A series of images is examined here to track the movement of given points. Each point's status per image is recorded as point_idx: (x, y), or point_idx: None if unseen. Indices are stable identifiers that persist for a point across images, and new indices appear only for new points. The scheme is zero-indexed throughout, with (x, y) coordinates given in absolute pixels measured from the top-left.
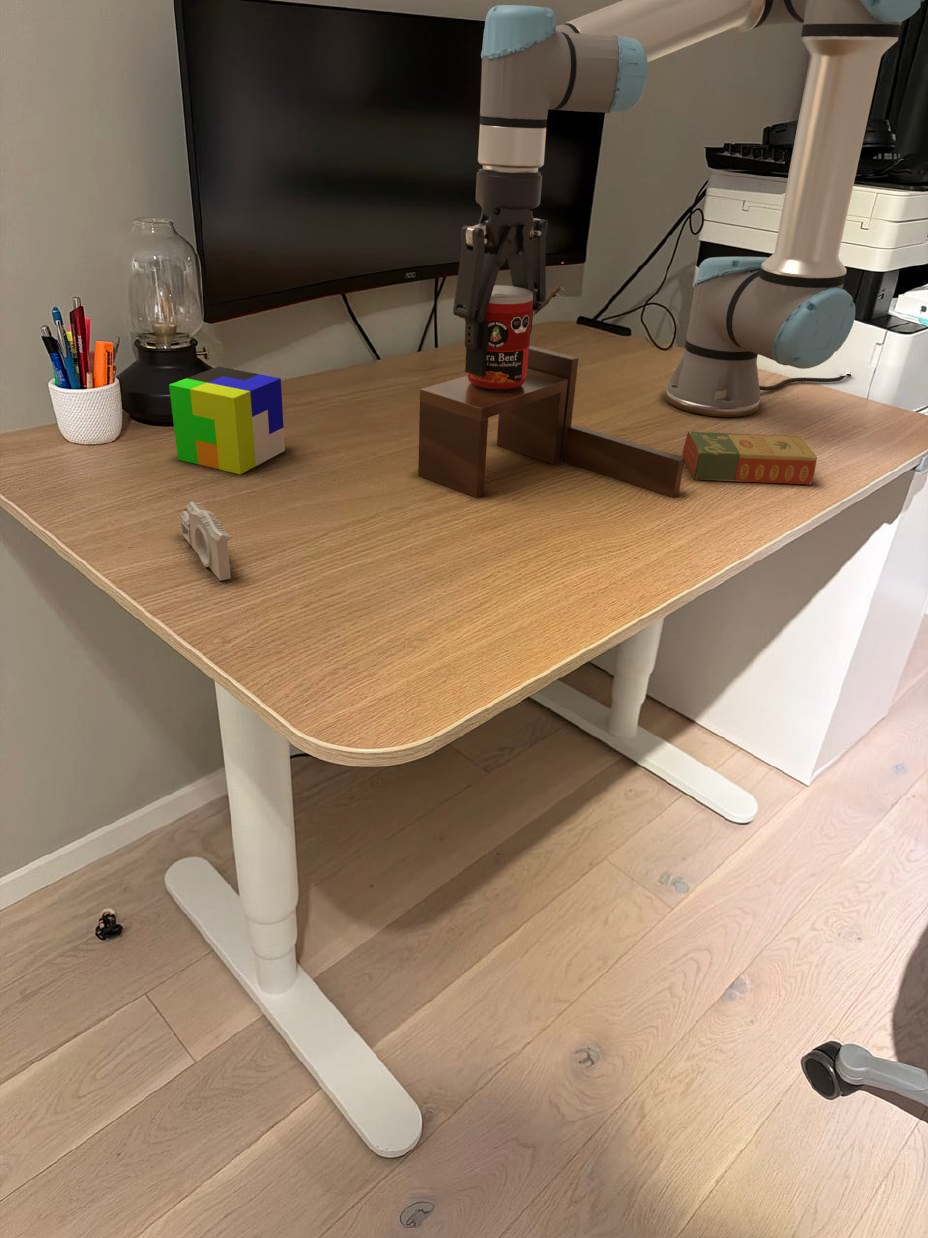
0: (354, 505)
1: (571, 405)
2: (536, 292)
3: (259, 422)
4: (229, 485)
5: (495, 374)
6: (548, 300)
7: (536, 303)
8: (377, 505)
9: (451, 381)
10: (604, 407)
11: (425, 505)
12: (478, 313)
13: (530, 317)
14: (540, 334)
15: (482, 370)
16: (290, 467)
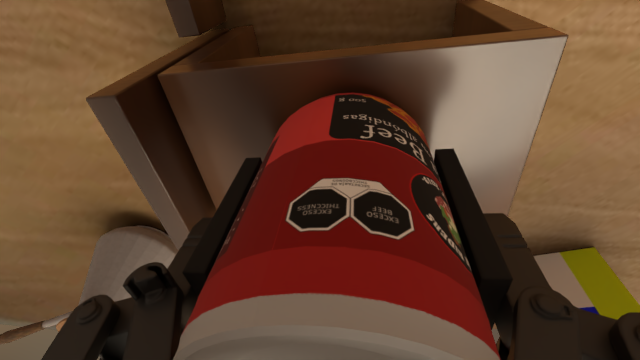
0: (626, 105)
1: (168, 56)
2: (102, 346)
3: (570, 297)
4: (634, 235)
5: (419, 133)
6: (2, 335)
7: (140, 297)
8: (607, 83)
9: None
10: (42, 142)
11: (565, 32)
12: (579, 329)
13: (264, 224)
14: (32, 307)
15: (455, 158)
16: (538, 231)
